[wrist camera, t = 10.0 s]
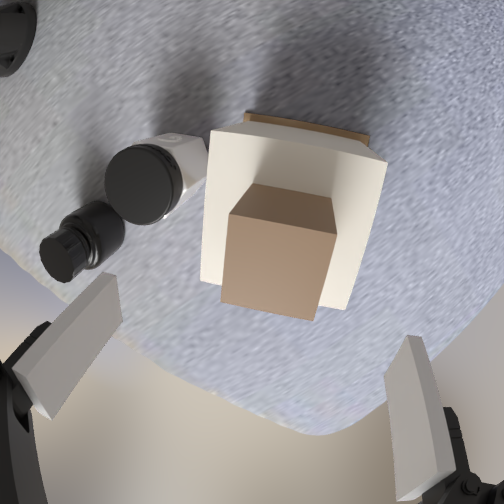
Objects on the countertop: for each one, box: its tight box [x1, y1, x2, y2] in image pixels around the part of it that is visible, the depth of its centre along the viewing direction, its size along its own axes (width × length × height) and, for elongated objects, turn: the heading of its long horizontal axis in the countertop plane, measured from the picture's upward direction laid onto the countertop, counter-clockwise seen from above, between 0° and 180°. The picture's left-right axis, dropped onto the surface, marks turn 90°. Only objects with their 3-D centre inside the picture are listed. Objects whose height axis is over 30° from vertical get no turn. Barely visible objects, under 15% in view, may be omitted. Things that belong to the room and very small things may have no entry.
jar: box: [105, 132, 208, 225], centre depth 34 cm, size 9×8×12 cm
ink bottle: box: [39, 201, 124, 283], centre depth 41 cm, size 10×9×12 cm
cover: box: [200, 121, 388, 321], centre depth 28 cm, size 13×13×22 cm
